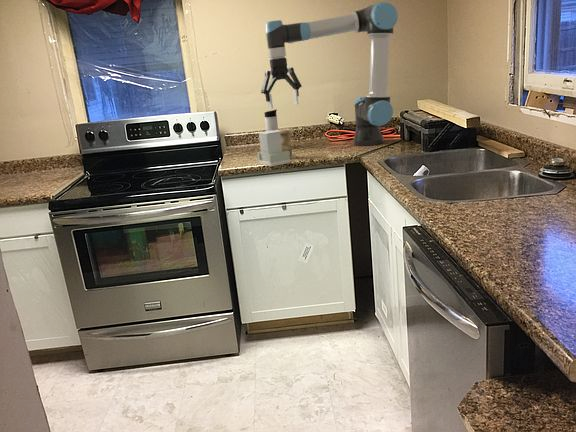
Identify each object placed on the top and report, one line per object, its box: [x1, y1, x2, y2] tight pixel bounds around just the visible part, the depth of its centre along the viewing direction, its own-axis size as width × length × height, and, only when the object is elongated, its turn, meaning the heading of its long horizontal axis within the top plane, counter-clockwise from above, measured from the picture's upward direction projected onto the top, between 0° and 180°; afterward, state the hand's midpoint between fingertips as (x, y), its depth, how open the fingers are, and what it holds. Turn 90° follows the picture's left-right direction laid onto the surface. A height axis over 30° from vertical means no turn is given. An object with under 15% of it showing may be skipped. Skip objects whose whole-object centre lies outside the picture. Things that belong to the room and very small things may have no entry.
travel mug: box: [264, 109, 279, 132], centre depth 271 cm, size 6×7×20 cm
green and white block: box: [256, 151, 291, 167], centre depth 234 cm, size 10×12×5 cm
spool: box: [275, 128, 297, 160], centre depth 242 cm, size 9×9×13 cm
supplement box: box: [258, 130, 282, 161], centre depth 232 cm, size 7×7×13 cm
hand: (283, 106), depth 235 cm, fingers open, 13 cm apart
